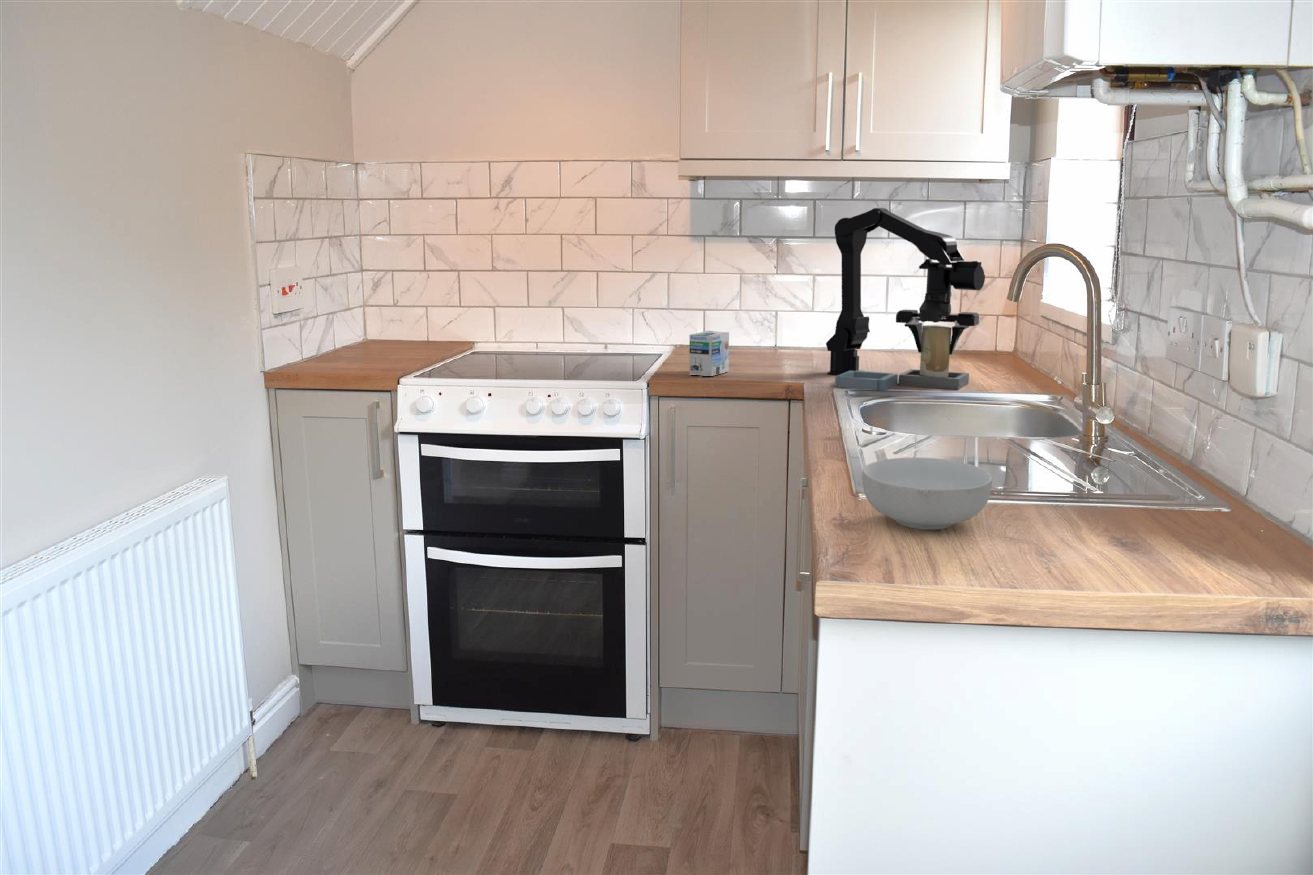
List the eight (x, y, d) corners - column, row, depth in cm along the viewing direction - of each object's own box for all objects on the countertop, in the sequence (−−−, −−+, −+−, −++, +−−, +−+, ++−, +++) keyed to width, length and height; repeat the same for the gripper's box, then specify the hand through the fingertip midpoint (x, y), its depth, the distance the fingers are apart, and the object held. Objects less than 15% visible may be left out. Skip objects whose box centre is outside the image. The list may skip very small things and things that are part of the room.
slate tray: (833, 387, 250) (834, 376, 249) (850, 379, 260) (850, 370, 260) (883, 391, 244) (883, 380, 244) (898, 383, 255) (898, 373, 254)
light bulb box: (711, 378, 265) (711, 335, 263) (688, 376, 268) (688, 334, 266) (729, 372, 274) (730, 331, 272) (706, 370, 277) (707, 330, 275)
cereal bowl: (841, 526, 140) (842, 475, 138) (887, 498, 153) (889, 452, 152) (966, 548, 130) (969, 494, 129) (1004, 516, 144) (1007, 466, 142)
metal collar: (898, 385, 252) (898, 374, 252) (910, 379, 261) (910, 369, 261) (958, 389, 245) (959, 379, 245) (968, 383, 254) (969, 373, 254)
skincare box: (918, 375, 255) (920, 325, 252) (933, 373, 257) (936, 324, 254) (934, 378, 249) (936, 327, 247) (949, 377, 251) (952, 326, 248)
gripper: (890, 289, 246) (887, 355, 249) (970, 292, 237) (966, 360, 240) (903, 286, 255) (900, 349, 259) (981, 289, 247) (977, 354, 250)
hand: (935, 353), depth 252 cm, fingers closed on skincare box, 7 cm apart
